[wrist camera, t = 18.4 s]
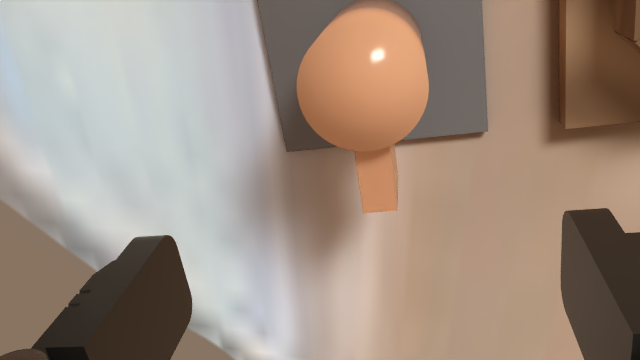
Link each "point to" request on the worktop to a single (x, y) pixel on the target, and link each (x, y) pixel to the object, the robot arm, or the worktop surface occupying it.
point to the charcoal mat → (440, 53)
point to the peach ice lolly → (367, 90)
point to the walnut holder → (599, 62)
